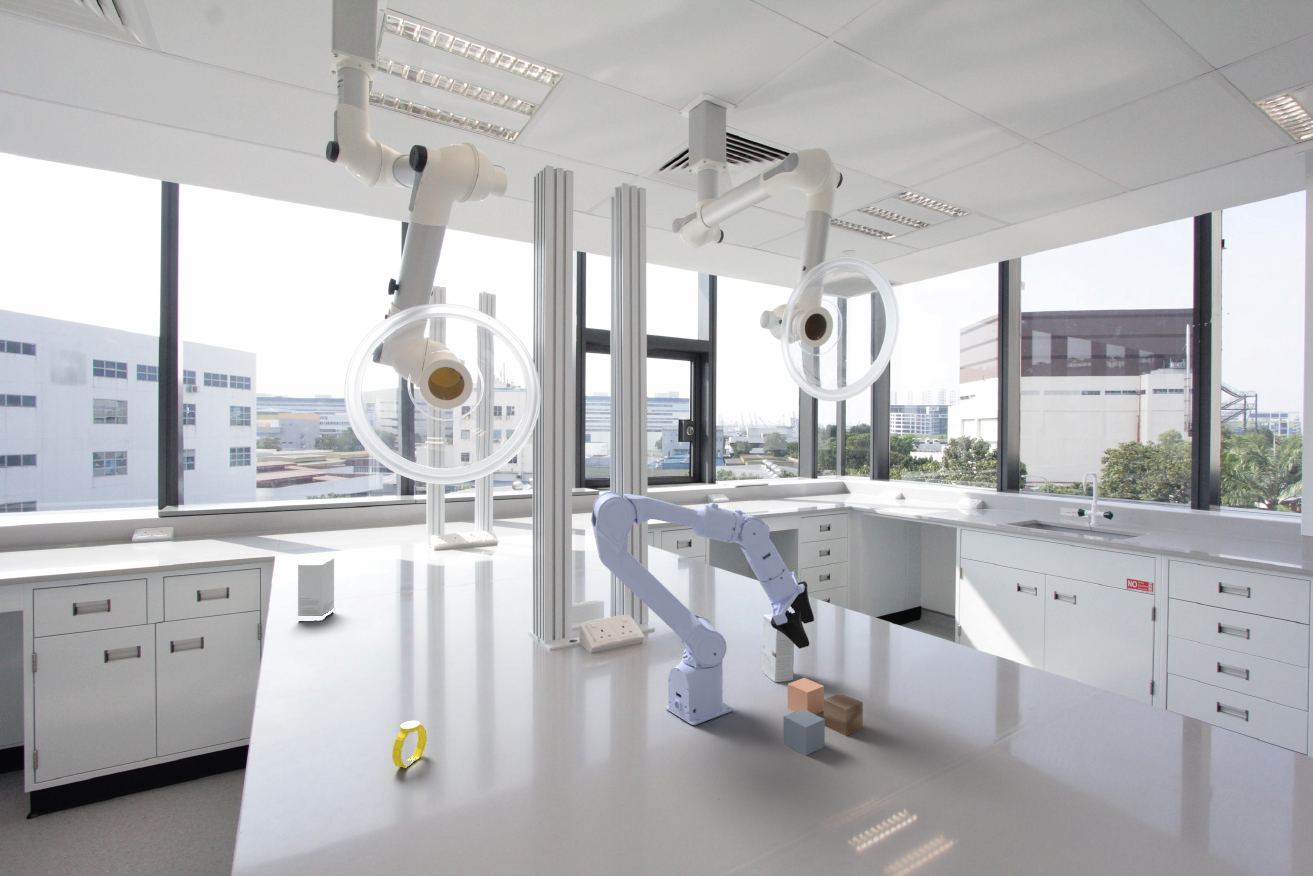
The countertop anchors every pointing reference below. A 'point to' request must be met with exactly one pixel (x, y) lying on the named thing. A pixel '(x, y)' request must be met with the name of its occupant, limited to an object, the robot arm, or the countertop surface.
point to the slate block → (804, 731)
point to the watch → (404, 730)
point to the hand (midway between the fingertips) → (806, 633)
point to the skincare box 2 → (776, 653)
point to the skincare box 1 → (316, 587)
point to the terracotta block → (806, 696)
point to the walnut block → (843, 714)
